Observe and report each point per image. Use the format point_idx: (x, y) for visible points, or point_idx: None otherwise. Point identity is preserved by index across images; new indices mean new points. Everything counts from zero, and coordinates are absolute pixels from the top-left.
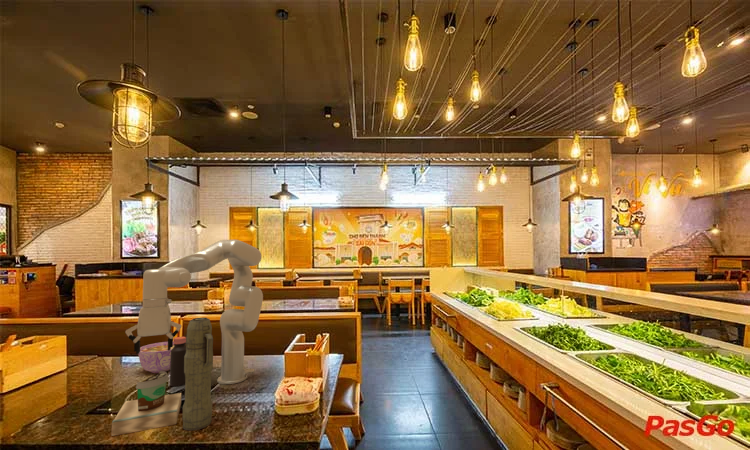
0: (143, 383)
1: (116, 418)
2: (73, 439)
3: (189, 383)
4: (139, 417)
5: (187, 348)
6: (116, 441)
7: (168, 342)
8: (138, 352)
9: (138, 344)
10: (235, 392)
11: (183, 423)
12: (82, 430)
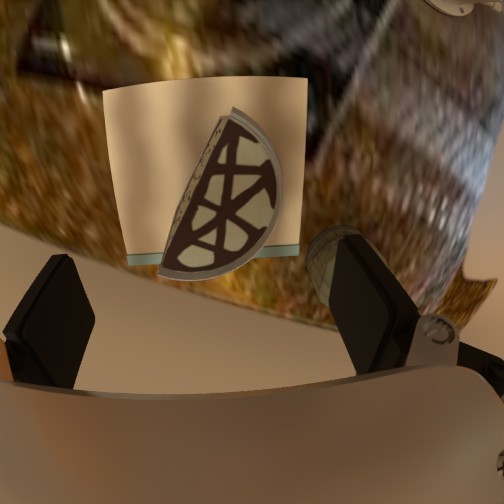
0: (186, 276)
1: (128, 238)
2: (58, 232)
3: None
4: None
5: None
6: None
7: (357, 363)
8: (92, 326)
9: (72, 386)
10: (444, 85)
11: (309, 272)
12: (51, 186)
